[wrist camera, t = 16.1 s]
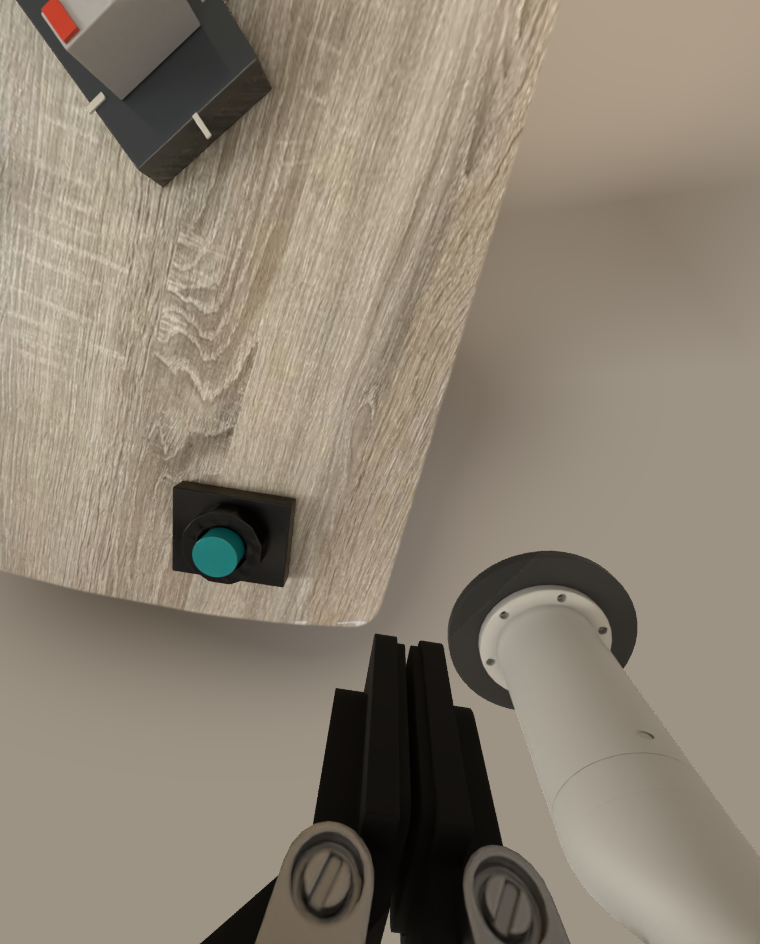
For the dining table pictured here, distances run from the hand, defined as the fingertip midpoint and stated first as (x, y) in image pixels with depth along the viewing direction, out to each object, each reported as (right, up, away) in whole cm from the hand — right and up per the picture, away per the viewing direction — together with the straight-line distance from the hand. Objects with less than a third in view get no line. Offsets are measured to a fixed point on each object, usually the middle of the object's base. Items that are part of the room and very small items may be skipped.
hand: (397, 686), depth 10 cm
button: (-13, -1, +24) cm, 27 cm away
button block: (-13, 0, +27) cm, 30 cm away
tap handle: (-14, +30, +14) cm, 36 cm away
